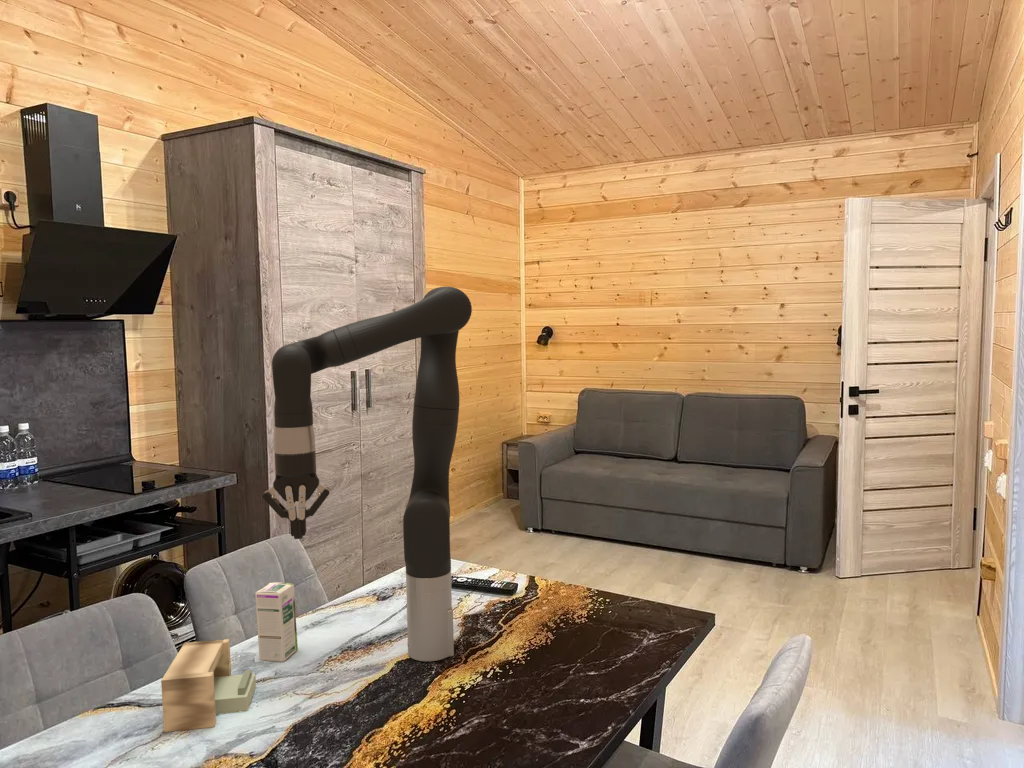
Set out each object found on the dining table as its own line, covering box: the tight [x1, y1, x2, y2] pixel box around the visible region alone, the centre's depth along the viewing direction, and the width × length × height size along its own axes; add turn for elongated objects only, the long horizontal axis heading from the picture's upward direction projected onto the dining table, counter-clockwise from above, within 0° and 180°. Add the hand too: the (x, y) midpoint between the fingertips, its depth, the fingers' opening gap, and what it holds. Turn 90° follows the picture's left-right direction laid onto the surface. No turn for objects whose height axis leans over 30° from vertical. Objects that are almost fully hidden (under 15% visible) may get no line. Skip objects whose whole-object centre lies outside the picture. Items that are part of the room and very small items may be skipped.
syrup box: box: [254, 581, 299, 663], centre depth 153 cm, size 6×6×14 cm
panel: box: [214, 669, 257, 715], centre depth 135 cm, size 11×9×4 cm
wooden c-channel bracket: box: [160, 638, 232, 733], centre depth 133 cm, size 8×15×9 cm, turn 10°
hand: (298, 537), depth 144 cm, fingers closed
